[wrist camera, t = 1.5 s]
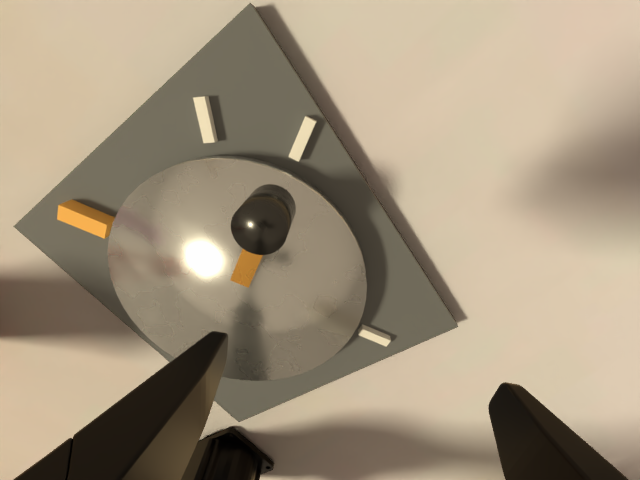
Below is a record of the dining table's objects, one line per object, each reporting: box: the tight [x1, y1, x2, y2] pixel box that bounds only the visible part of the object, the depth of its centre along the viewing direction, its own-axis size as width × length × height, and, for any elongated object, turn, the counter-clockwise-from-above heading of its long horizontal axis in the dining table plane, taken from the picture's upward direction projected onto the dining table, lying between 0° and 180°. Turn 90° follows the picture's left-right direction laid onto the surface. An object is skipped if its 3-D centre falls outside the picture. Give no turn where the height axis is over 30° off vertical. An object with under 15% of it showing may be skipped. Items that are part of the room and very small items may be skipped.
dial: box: [108, 156, 367, 381], centre depth 19 cm, size 16×16×4 cm
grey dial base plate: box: [14, 3, 458, 422], centre depth 21 cm, size 22×20×2 cm
